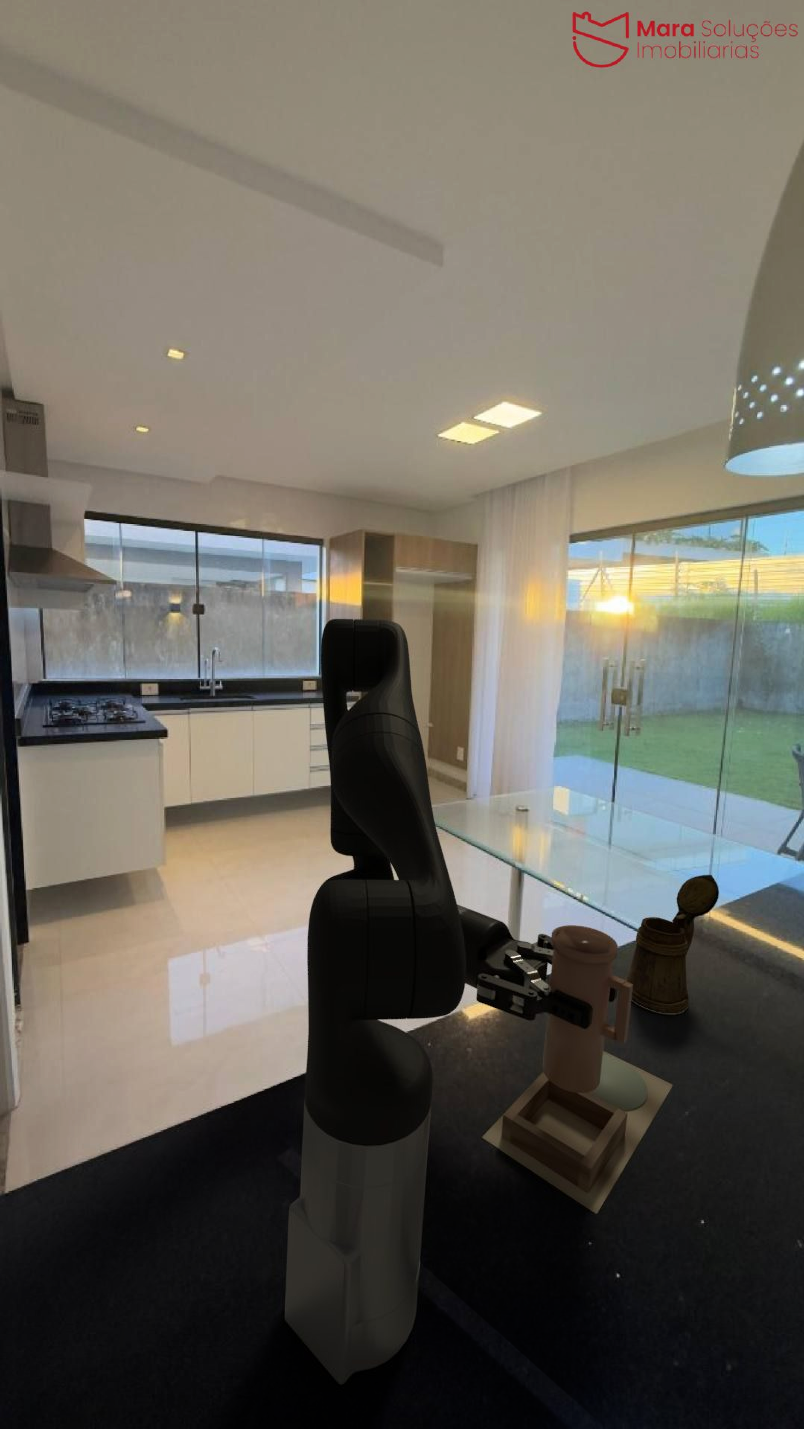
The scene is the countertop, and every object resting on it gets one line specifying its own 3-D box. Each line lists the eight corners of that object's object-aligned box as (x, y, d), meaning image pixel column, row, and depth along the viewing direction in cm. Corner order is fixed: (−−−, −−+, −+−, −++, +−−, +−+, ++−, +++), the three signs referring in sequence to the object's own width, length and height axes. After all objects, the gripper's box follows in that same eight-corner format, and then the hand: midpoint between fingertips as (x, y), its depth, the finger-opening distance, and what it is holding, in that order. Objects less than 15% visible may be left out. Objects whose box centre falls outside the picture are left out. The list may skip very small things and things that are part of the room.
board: (595, 1223, 54) (599, 1188, 54) (481, 1146, 62) (483, 1114, 61) (672, 1092, 71) (675, 1065, 70) (574, 1044, 78) (577, 1019, 78)
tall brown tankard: (606, 1115, 56) (622, 970, 54) (528, 1072, 61) (540, 938, 59) (630, 1081, 60) (645, 947, 59) (556, 1044, 66) (568, 919, 64)
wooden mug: (724, 1002, 90) (739, 886, 88) (656, 1021, 84) (671, 897, 82) (674, 971, 98) (687, 864, 96) (610, 986, 92) (622, 873, 90)
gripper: (422, 930, 63) (576, 997, 53) (495, 893, 74) (634, 942, 64) (418, 998, 64) (567, 1077, 54) (490, 951, 75) (627, 1010, 65)
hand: (603, 1004), depth 59 cm, fingers closed on tall brown tankard, 5 cm apart
